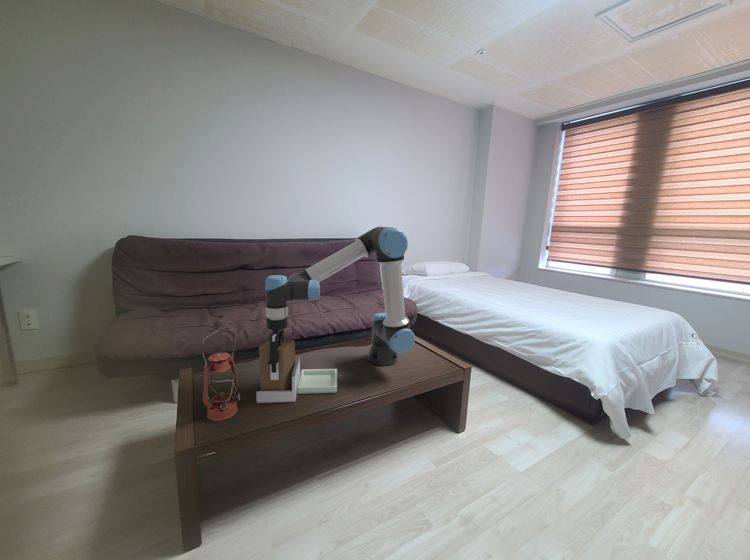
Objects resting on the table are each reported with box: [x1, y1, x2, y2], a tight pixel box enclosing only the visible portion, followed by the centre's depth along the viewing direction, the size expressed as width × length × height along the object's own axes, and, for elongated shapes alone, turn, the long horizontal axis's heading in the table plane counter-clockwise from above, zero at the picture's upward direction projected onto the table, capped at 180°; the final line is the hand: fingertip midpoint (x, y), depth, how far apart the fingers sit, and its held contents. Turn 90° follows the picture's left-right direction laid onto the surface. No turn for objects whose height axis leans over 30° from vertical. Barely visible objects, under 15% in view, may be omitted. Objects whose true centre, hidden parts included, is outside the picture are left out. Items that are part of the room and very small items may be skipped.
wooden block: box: [258, 338, 296, 391], centre depth 116 cm, size 10×10×20 cm
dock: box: [255, 356, 301, 404], centre depth 117 cm, size 14×15×11 cm
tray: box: [297, 368, 338, 395], centre depth 124 cm, size 15×15×2 cm
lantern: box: [202, 327, 241, 422], centre depth 101 cm, size 10×10×30 cm
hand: (278, 371), depth 116 cm, fingers open, 12 cm apart
